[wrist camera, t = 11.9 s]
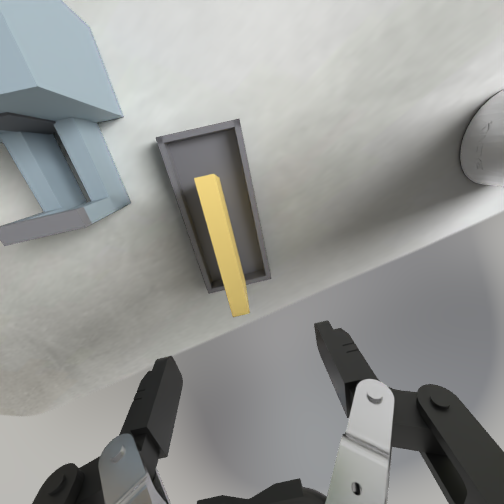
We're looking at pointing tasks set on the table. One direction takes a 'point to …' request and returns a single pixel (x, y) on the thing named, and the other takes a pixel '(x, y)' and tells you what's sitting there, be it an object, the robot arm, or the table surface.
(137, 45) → the table surface
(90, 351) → the table surface
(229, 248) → the ticket
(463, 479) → the robot arm
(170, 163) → the tray
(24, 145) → the dispenser
